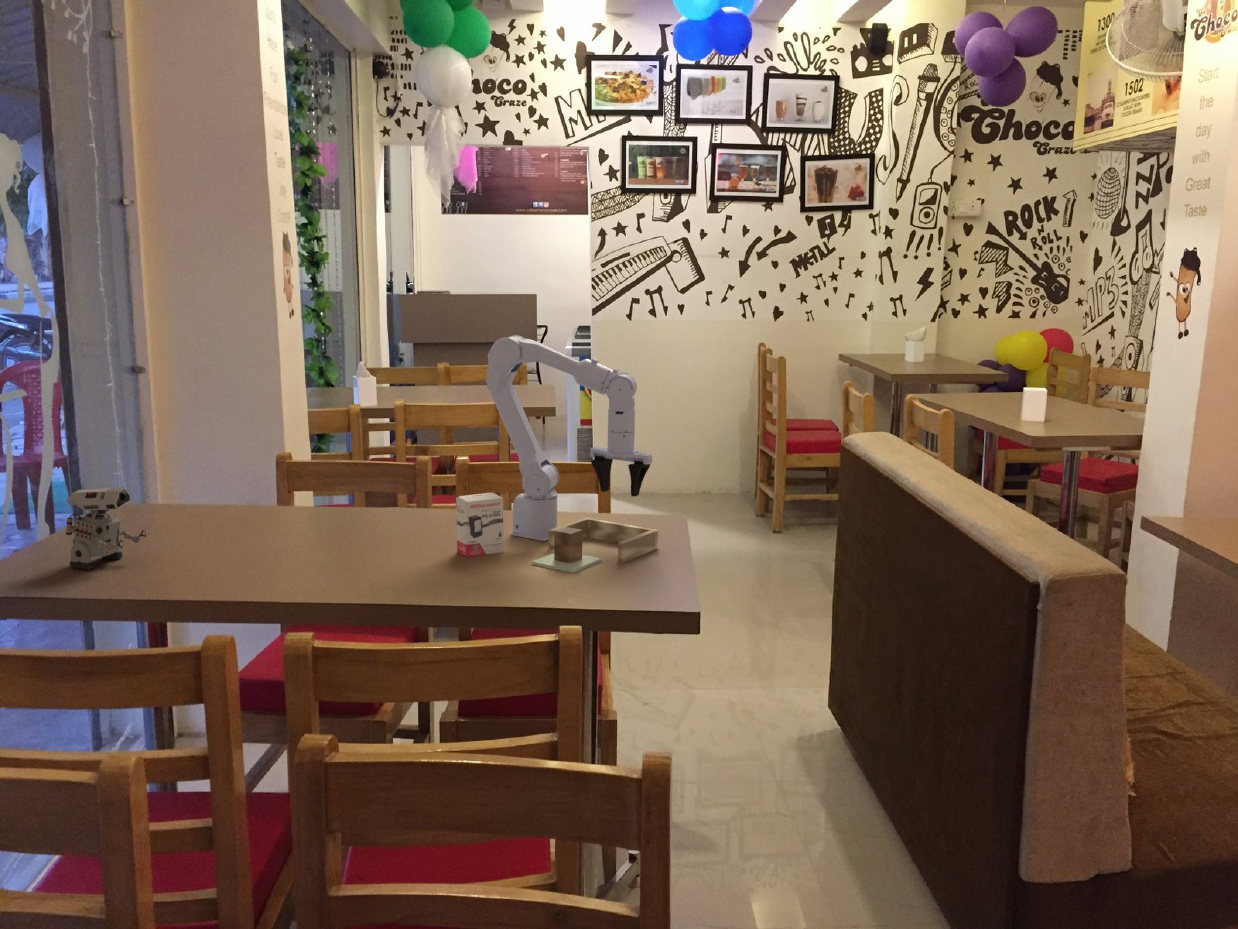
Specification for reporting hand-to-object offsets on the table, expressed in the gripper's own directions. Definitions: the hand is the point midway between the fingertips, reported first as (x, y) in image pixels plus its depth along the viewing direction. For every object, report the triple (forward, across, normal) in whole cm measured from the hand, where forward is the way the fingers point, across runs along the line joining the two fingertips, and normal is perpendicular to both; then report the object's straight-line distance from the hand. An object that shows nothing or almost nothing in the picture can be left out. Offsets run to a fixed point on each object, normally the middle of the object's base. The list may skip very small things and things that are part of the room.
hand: (619, 493), depth 216 cm
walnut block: (+10, +1, -21) cm, 23 cm away
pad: (+10, +1, -21) cm, 23 cm away
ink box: (+11, -18, -25) cm, 33 cm away
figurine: (+11, -70, -74) cm, 102 cm away
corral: (+10, +1, -8) cm, 13 cm away
